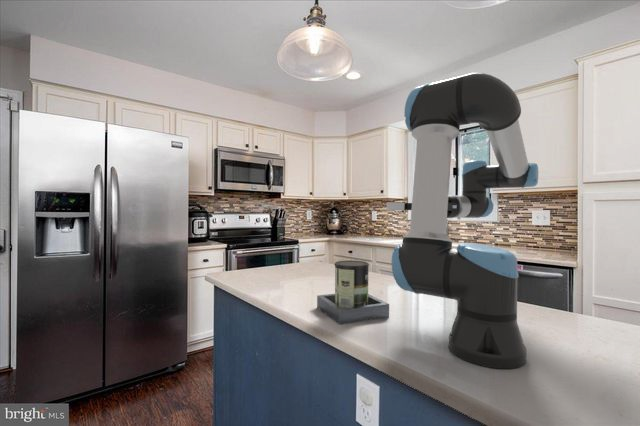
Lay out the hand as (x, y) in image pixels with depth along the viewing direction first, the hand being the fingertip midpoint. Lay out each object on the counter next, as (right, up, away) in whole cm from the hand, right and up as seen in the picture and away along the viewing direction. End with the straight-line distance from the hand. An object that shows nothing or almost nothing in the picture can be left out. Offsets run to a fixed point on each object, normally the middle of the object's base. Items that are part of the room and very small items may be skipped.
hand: (400, 206), depth 100 cm
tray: (-15, -32, -2) cm, 36 cm away
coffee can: (-15, -31, -2) cm, 35 cm away
